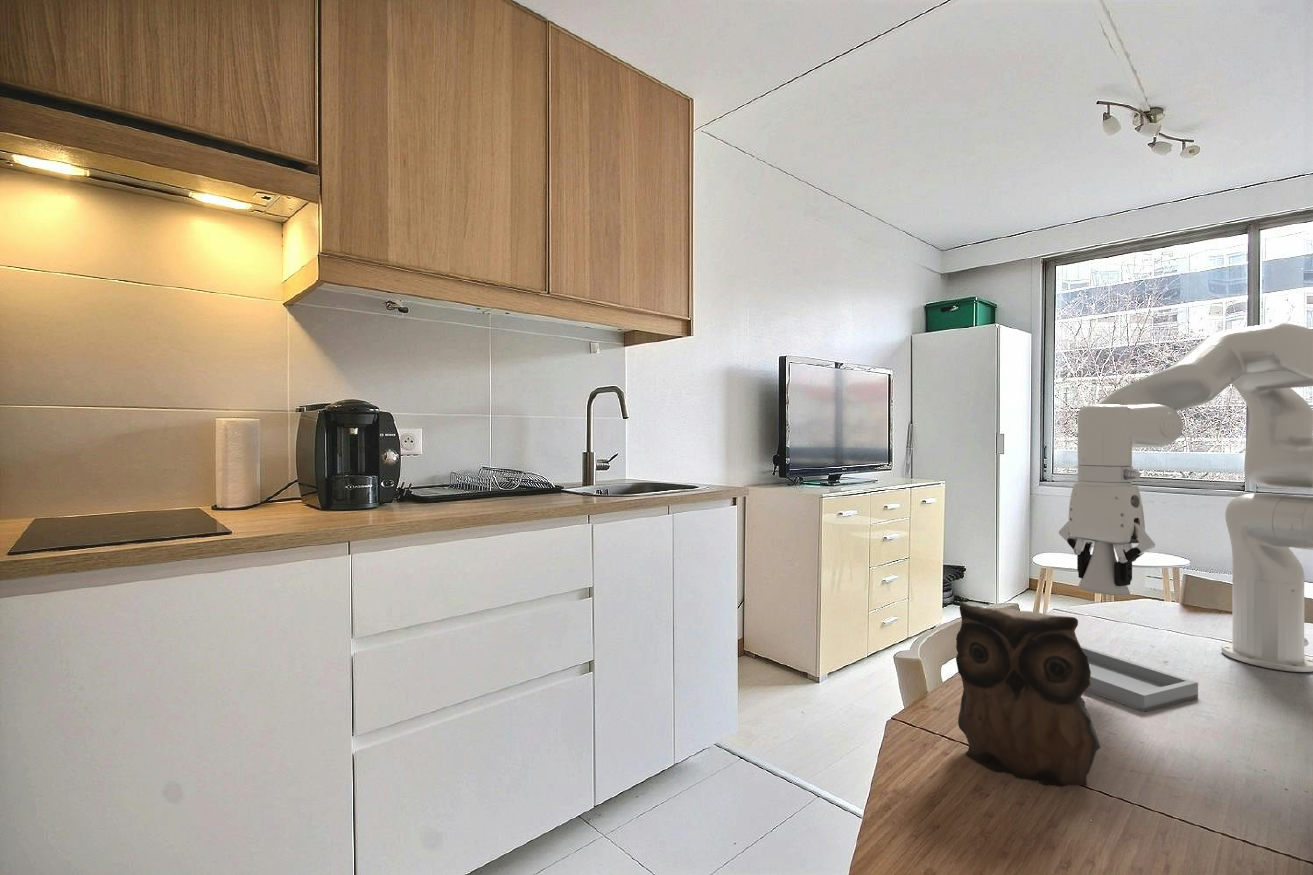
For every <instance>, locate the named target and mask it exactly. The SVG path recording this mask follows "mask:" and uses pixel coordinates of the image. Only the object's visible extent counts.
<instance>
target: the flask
mask: <svg viewBox="0 0 1313 875" xmlns="http://www.w3.org/2000/svg"><path fill="white" fill-rule="evenodd" d="M1091 555H1092V556H1091V558H1090V561H1089V563H1088V565H1087V568H1086V571H1085V573H1084V576H1083V578H1080V580H1079V583H1078V588H1079V589H1080V590H1083V591H1086V592H1089V593H1093V594H1101V595H1108V596H1131V592H1130V589H1129V586H1128V585H1126V586H1116V585H1115V583H1114V563H1115V562H1118V559H1117V555H1116V551H1115V548H1114V545H1113V544H1111V543H1104V542H1097V541H1094V543H1093V547H1092V553H1091Z"/></svg>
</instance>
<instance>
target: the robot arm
mask: <svg viewBox="0 0 1313 875" xmlns="http://www.w3.org/2000/svg"><path fill="white" fill-rule="evenodd" d="M1230 385H1232V386H1233V387H1234V388H1235V390H1236V391H1237V392H1238V393H1239V395H1240V396H1241V397H1242V399H1243V400H1244V401H1245V403H1246V406H1247V408H1248V411H1249V412H1248V413H1249V426H1248V434H1247V441H1246V449H1245V454H1244V455H1245V456H1244V467H1243V470H1244V475H1245V478H1246V479H1248V481H1250V482H1251V483H1253V484H1254V485H1258V486H1263V487H1269V488H1280V489H1292V490H1293V489H1295V490H1307V491H1308V490H1310V491H1313V408H1312V406H1310V404H1309V403H1308V402H1307V400H1306V399H1304V397H1302V395H1300V394H1299V393H1297V392H1296V391H1295V390H1294V389H1293V388H1307V387H1308V388H1309V387H1313V329H1311V328H1308V327H1305V326H1302V325H1297V324H1292V323H1286V322H1274V323H1272V322H1271V323H1266V324H1260V325H1254V326H1246V327H1238V328H1233V329H1231V328H1230V329H1226V330H1221V331H1219V332H1215V333H1214V334H1211V335H1209V336H1207V337H1205V339H1203V340H1202V341H1201V342H1199V343H1197V345H1196V346H1194V347H1193V348H1191V350H1190V351H1188V352H1187V353H1186V354H1184V355H1183V356H1182V357H1181V358H1179V359H1178V360H1177V361H1176V362H1174V363H1173V364H1171V365H1170V366H1169V367H1167V368H1165V369H1164V370H1163V369H1162V370H1161V371H1158V372H1155V373H1152V374H1150V375H1147V376H1146V377H1143V378H1141V379H1140V380H1136V381H1134V382H1131V383H1129V384H1127V385H1124V386H1122V387H1120V388H1118V389H1116V390H1114V391H1112V392H1111V393H1109V394H1108V395H1106V396H1105V397H1104V398H1103V399H1101V400H1100V401H1099V402H1098V403H1096V404H1093V405H1092V404H1091V405H1085V406H1083V407H1081V408H1080V409H1079V410H1078V412H1077V482H1074V483H1073V486H1072V490H1071V494H1070V499H1069V508H1068V518H1067V520H1068V521H1067V522H1066V523H1065V524H1064V525H1063V526H1062V527H1061V528H1060V529H1059V530H1058V534H1059V535H1060V536H1061V537H1062V539H1064V540H1065V541H1066V542H1067V544H1068V546H1070V547H1071V549H1072V550H1073V554H1074V555H1076V556H1077V563H1076V564H1077V568H1076V569H1077V572H1078V578H1080V579H1081V578H1083V576H1084V573H1085V571H1086V568H1087V565H1088V563H1089V561H1090V558H1091V556H1092V553H1091V551H1092V550H1093V547H1094V541H1097V542H1104V543H1111V544H1113V545H1114V551H1115V555H1116V558H1117V562H1115V563H1114V583H1115V585H1116V586H1126V585H1127V586H1130V585H1131V582H1132V580H1133V562H1135V561H1137V559H1138V558H1140V557H1141V556H1142V555H1144V554H1145V553H1147V552H1149V551H1151V550H1152V549H1154V548H1155V547H1156V543H1155V542H1154V540H1152V538H1151V537H1150V536H1149V535H1148V534H1147V532H1146V527H1145V526H1146V525H1145V514H1144V507H1143V501H1142V497H1141V493H1140V490H1139V486H1138V485H1134V484H1133V482H1134V480H1135V479H1136V480H1138V479H1139V480H1140V478H1141V472H1140V471H1139V470H1134V467H1133V448H1161V447H1165V446H1168V445H1171V444H1173V443H1174V442H1176V440H1178V439H1179V437H1180V436H1181V435H1182V433H1183V429H1184V422H1183V419H1182V417H1181V415H1180V414H1179V413H1178V412H1180V411H1182V410H1188V409H1191V408H1195V407H1198V406H1202V405H1204V404H1207V403H1209V402H1210V401H1212V400H1213V399H1215V398H1216V397H1217V396H1219V394H1220V393H1222V392H1223V391H1224V390H1225V389H1226V388H1228V387H1229V386H1230ZM1224 516H1225V522H1226V527H1227V531H1228V534H1229V539H1230V544H1231V555H1232V630H1231V631H1232V633H1231V634H1232V635H1231V636H1232V639H1231V640H1232V642H1230V643H1225V644H1222V645H1221V652H1222V653H1223V654H1224V655H1225V656H1227V657H1229V658H1231V659H1233V660H1236V661H1239V662H1242V663H1245V664H1249V665H1252V666H1256V667H1261V668H1266V669H1271V670H1277V671H1285V672H1292V673H1294V672H1295V673H1312V672H1313V659H1312V658H1310V657H1308V656H1306V655H1305V647H1307V646H1308V645H1309V640H1308V639H1307V638H1305V579H1306V578H1305V570H1304V567H1303V565H1302V563H1301V562H1300V560H1299V559H1298V557H1297V556H1296V554H1294V552H1293V550H1292V549H1291V548H1295V549H1303V550H1309V551H1310V550H1311V551H1313V496H1302V495H1301V496H1299V495H1293V494H1292V495H1291V494H1278V493H1263V492H1260V493H1259V492H1258V493H1256V492H1255V493H1253V492H1252V493H1245V494H1241V495H1238V496H1236V497H1234V498H1232V500H1230V501H1229V503H1228V504H1227V506H1226V508H1225V515H1224ZM1133 544H1137V545H1136V546H1134V547H1133Z"/></svg>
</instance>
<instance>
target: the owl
mask: <svg viewBox="0 0 1313 875" xmlns="http://www.w3.org/2000/svg"><path fill="white" fill-rule="evenodd" d="M959 614H960V618H961V626H960V629H959V631H958V632H957V634H956V638H955V640H956V642H955V643H956V645H955V648H956V651H957V654H956V656H955V662H956V666H957V672H958V674H959V676H960V677H961V682H962V687H963V689H962V690H963V691H962V695H961V699H960V708H959V714H958V717H957V718H958V719H957V724H958V727H959V729H960V731H961V732H963V734H964V735H965V737H966V740H967V743H968V749H967V751H966V752H965V754H966V756H967V758H969V759H970V760H972V761H974V762H975V763H977V764H978V765H981V766H982V767H984V768H985V769H986V770H990V771H991V772H995V773H1000V774H1001V773H1002V774H1003V773H1004V774H1010V775H1012V776H1014V778H1016V779H1020V780H1030V781H1034V782H1037V783H1038V784H1040V785H1043V786H1045V787H1046V786H1054V787H1065V786H1083V787H1084V786H1085V787H1086V786H1088V781H1087V776H1088V775H1089V773H1090V770H1091V768H1092V765H1093V763H1094V760H1095V756H1096V753H1097V751H1098V750H1099V749H1101V745H1100V742H1099V738H1098V735H1097V733H1096V729H1095V728H1094V725H1093V722H1092V719H1091V715H1090V714H1089V712H1088V709H1087V707H1086V702H1085V701H1086V700H1084V699H1083V698H1082V696H1083V694H1084V693H1085V692H1086V691H1087V690H1086V689H1087V688H1088V687H1089V686H1090V685H1091V683H1090V676H1091V670H1090V667H1089V663H1088V656H1087V655H1086V654H1085V653H1084V652H1083V650H1082V648H1081V646H1082V645H1081V644H1080V642H1079V640H1078V637H1077V635H1076V629H1077V627H1078V626H1079V620H1078V618H1076V617H1075V616H1074V617H1073V616H1067V615H1066V616H1064V615H1052V614H1046V613H1042V612H1035V611H1030V610H1017V609H1013V608H1008V607H1007V608H1005V607H1004V608H1003V607H1002V608H999V607H998V608H996V607H983V606H979V605H970V604H967V603H966V602H965V601H962V602H960V603H959Z"/></svg>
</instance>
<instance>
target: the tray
mask: <svg viewBox="0 0 1313 875" xmlns="http://www.w3.org/2000/svg"><path fill="white" fill-rule="evenodd" d="M1080 646H1081V648H1082V650H1083V652H1084V653H1085V654H1086V655H1087V656H1088V663H1089V667H1090V670H1091V676H1090V683H1091V685H1090V686H1089V687H1088V688H1087V689H1086V690H1085V691H1087V692H1089V693H1093V694H1095V695H1097V696H1101V697H1103V698H1106V699H1108V700H1110V701H1111V700H1112V701H1114V702H1116V703H1119V704H1122V705H1124V706H1126V707H1130V708H1133V709H1135V710H1138V711H1140V712H1143V713H1146V712H1150V711H1153V710H1157V709H1161V708H1165V707H1169V706H1173V705H1176V704H1177V705H1178V704H1179V703H1183V702H1187V701H1192V700H1196V699H1198V698H1199V682H1198V681H1194V680H1191V679H1189V678H1185V677H1182V676H1178V675H1176V674H1173V673H1172V674H1171V673H1170V672H1166V671H1163V670H1159V669H1156V668H1153V667H1149V666H1147V665H1144V664H1140V663H1137V662H1133V661H1130V660H1127V659H1124V658H1121V657H1117V656H1115V655H1111V654H1108V653H1105V652H1101V651H1098V650H1095V649H1092V648H1090V647H1089V648H1088V647H1085V646H1082V645H1080Z"/></svg>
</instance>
